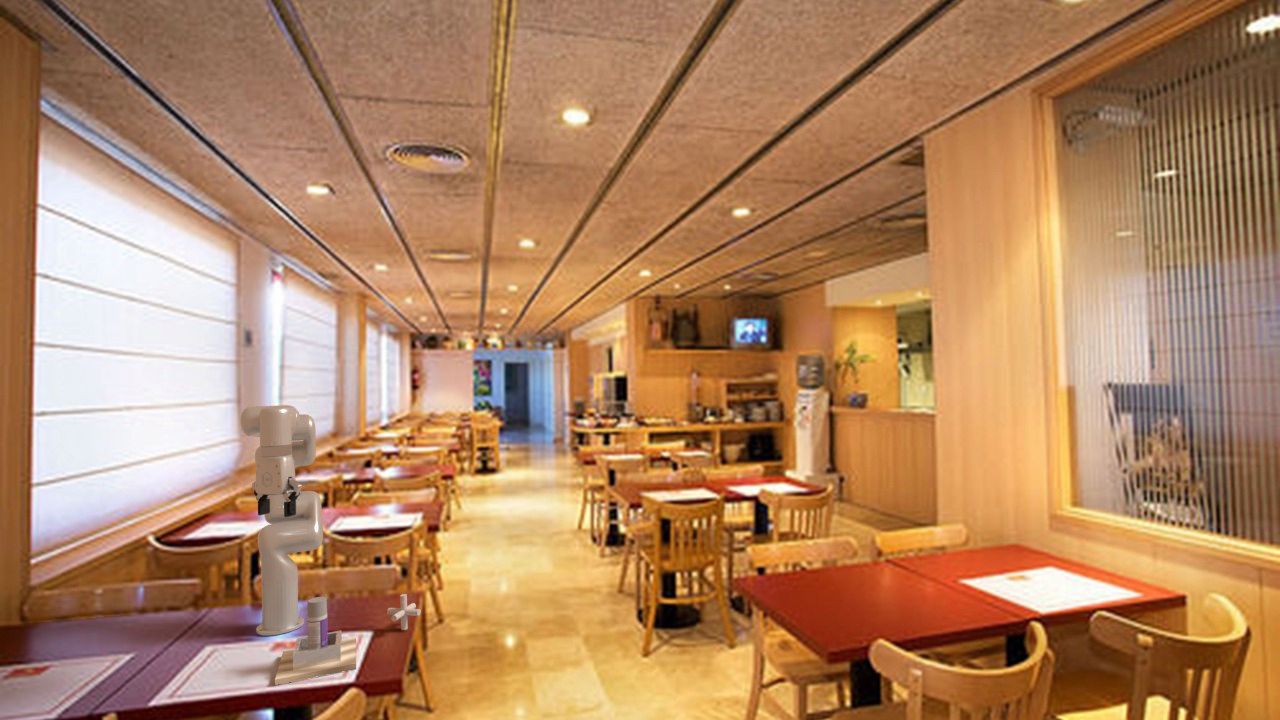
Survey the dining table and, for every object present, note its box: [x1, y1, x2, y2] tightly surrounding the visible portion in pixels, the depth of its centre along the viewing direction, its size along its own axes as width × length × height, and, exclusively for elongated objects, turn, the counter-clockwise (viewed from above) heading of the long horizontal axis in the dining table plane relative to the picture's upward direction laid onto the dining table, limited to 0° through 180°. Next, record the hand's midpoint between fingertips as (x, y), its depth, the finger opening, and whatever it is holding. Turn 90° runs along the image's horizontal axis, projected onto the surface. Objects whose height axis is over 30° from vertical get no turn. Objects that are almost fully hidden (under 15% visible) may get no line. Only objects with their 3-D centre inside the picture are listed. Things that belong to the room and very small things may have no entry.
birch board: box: [274, 637, 357, 686], centre depth 163 cm, size 18×18×2 cm
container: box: [306, 596, 329, 649], centre depth 163 cm, size 5×5×15 cm
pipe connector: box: [386, 593, 422, 631], centre depth 184 cm, size 10×10×10 cm
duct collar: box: [293, 630, 343, 670], centre depth 163 cm, size 11×11×4 cm
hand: (276, 515), depth 168 cm, fingers open, 9 cm apart
